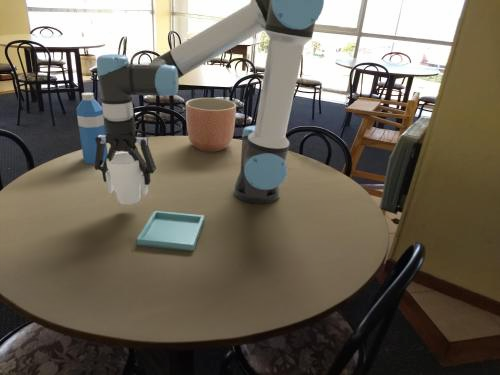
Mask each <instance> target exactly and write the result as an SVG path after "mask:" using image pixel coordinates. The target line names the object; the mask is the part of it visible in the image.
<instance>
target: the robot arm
mask: <svg viewBox="0 0 500 375" xmlns="http://www.w3.org/2000/svg"><path fill="white" fill-rule="evenodd" d="M324 3H325V0H250V2H249V3H248V4H247V5H244V7H243V6H242V7H241V8H240V9H238V10H235V11H234V12H233V13H231V14H229V15H228V16H226V17H224V18H222V19H221V20H219V21H217V22H216V23H214V24H212V25H211V26H209V27H208V28H206V29H204V30H202V31H201V32H199V33H197V34H196V35H194V36H192V37H190V38H189V39H187V40H186V41H184V42H182V43H181V44H178V45H177V46H175V47H174V48H172V49H170V50H168V51H166V52H165V53H163V54H161V55H159V56H156V57H155V58H154V59H151V61H150V62H149V64H135V63H134V64H133V63H130V61H129V58H128V57H127V55H124V54H119V53H118V54H116V53H115V54H114V53H112V54H102V55H99V56H98V57H97V58H96V69H97V70H96V71H97V72H96V73H97V74H96V75H97V79H98V86H99V91H100V97H101V99H100V100H101V107H102V109H103V118H104V127H105V135H102V134H100V135H99V136H97V137H96V138H95V140H96V144H97V149H96V158H95V164H94V169H95V170H96V171H97V170H98V171H100V172H101V173H102V178H103V182H104V183H106V187H107V193H108V195H111V194H112V193H113V192H115V189H114V186H113V183H112V179H111V176H110V173H109V169H108V168H107V163H106V159H109V161H111V160H112V159H113V157H114V155H115V153H117V152H128V153H129V154H130V155H131V156H132V157H133V159H134V160H135V161H136V160H137V161H139V168H140V170H141V193H142V197H146V196H147V195H148V193H149V185H150V184H151V174H154V173H155V171H156V169H157V166H156V165H155V161H154V158H153V156H152V152H151V149H150V146H149V138H148V137H147V136H144V137H138V135H137V134H136V124H135V121H136V120H135V118H134V106H133V96H151V97H152V96H156V97H157V96H158V97H159V96H161V97H167V96H168V97H169V96H170V97H171V96H172V97H173V96H176V95H177V94H178V93H179V85H180V83H179V79H181V78H182V77H184V76H185V75H187V74H188V73H190V72H192V71H194V70H195V69H197V68H199V67H201V66H203V65H204V64H206V63H208V62H210V61H212V60H214V59H216V58H217V57H218V56H220V55H222V54H224V53H226V52H227V51H229V50H230V49H231V50H232V48H235V47H236V46H238V45H240V44H242V43H243V42H245V41H247V40H248V39H251V38H252V37H254V36H256V35H258V34H259V33H261V32H265V33H266V34H267V36H268V37H269V38H268V39H269V43H268V48H267V55H266V61H265V68H264V72H263V73H264V74H263V77H262V85H261V89H260V90H261V91H260V98H259V103H258V108H257V116H256V121H255V125H249V126H245V127H244V128H243V130H242V135H241V138H242V142H241V158H240V159H241V160H240V172H239V174H238V176H237V179H236V182H235V184H234V187H233V189H234V190H233V192H234V197H236V198H237V199H238V200H241V201H242V202H245V203H247V204H248V203H249V204H253V205H254V204H255V205H264V204H270V203H273V202H275V201H276V200H278V199H279V197H280V186H281V185H282V183H284V181H285V180H286V178H287V175H288V163H287V157H288V153H289V148H290V147H289V146H290V141H289V139H288V138H287V137H286V134H287V130H288V125H289V122H290V121H289V120H290V115H291V110H292V107H293V101H294V94H295V91H296V87H297V81H298V76H299V71H300V67H301V63H302V56H303V51H304V47H305V45H306V44H307V43H308V42H310V41H311V40H312V39H313V34H314V31H315V30H314V29H315V26H316V22H317V20H318V19H319V17H320V15H321V14H322V11H323V8H324V5H325V4H324ZM105 142H106V143H108V144H109V145H110V147H109V149H108V150H107V153H108V155H107V157H106V159H105V162H103V156H104V148H105ZM136 143H138V146H139V147H140V150H141V153H142V154H141V153H140V152H139V148H138V147H137V145H136ZM141 155H142V156H141Z"/></svg>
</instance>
